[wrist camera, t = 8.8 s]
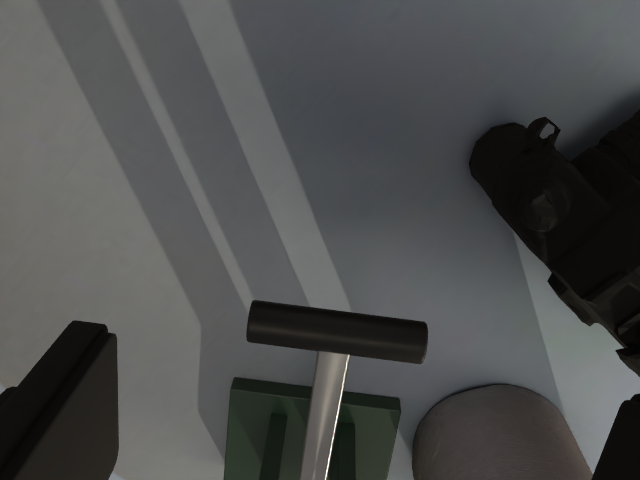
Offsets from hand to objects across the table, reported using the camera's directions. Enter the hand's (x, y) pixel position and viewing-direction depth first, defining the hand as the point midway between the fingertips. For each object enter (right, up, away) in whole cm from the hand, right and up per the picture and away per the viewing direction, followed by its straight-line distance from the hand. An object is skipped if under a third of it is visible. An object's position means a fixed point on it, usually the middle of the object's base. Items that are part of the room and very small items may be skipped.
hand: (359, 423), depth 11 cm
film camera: (+14, +6, +20) cm, 25 cm away
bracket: (-1, -9, +26) cm, 28 cm away
